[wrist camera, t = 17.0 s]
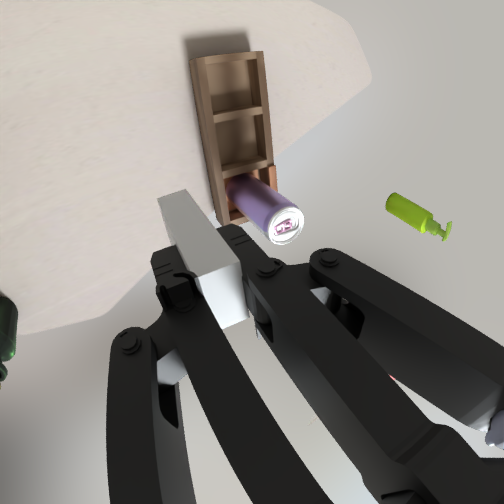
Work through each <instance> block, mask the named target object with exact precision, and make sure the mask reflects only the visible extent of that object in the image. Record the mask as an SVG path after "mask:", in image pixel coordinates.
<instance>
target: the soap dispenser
mask: <svg viewBox="0 0 504 504" xmlns="http://www.w3.org/2000/svg"><path fill="white" fill-rule="evenodd" d="M386 210H387V211H388V212H390V213H392V214H393V215H395V216H396V217H398V218H400V219H401V220H403V221H404V222H406V223H408V224H409V225H411V226H412V227H414V228H415V229H417V230H418V231H420V232H421V233H425V232H426V231H428V232H430V233H431V234H433V235H437V234H438V235H440V236H441V237H443V239H442V241H445V240H447V238H448V236H449V233H450V230H451V225H452V222H448V223H447V228H446V231H444V230H442V229H441V225H440V224H439V223H437V222H436V221H434V220H433V215H432V213H430V212H429V211H427V210H425V209H424V208H422V207H420V206H418V205H417V204H415V203H413V202H411V201H410V200H408V199H406V198H404V197H403V196H401V195H399V194H397V193H392V194H391V195H390V196H389V198H388V199H387V201H386Z"/></svg>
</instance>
